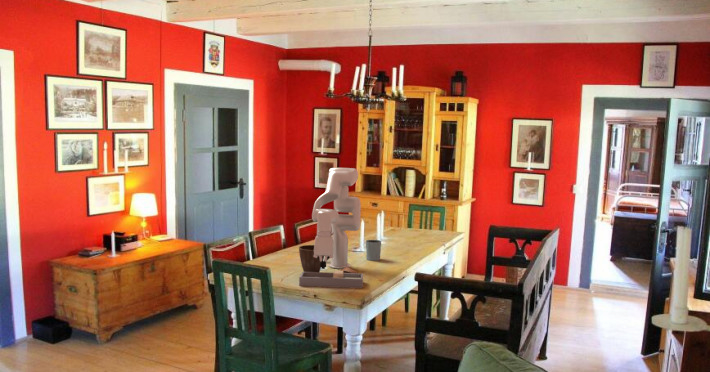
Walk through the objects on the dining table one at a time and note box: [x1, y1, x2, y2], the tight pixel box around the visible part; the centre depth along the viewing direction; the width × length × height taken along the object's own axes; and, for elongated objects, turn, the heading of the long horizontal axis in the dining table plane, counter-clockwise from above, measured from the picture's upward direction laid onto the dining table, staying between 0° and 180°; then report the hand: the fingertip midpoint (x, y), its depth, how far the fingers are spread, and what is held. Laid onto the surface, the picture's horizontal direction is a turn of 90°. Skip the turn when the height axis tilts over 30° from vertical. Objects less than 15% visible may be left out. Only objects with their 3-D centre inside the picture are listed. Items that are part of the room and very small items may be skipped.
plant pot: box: [298, 244, 325, 272], centre depth 316 cm, size 15×15×16 cm
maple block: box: [332, 270, 343, 278], centre depth 299 cm, size 5×5×4 cm
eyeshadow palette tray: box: [298, 271, 364, 289], centre depth 300 cm, size 12×33×4 cm, turn 88°
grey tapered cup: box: [365, 239, 382, 262], centre depth 360 cm, size 10×10×12 cm
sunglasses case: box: [340, 267, 359, 274], centre depth 318 cm, size 18×7×7 cm
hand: (323, 268), depth 299 cm, fingers closed
